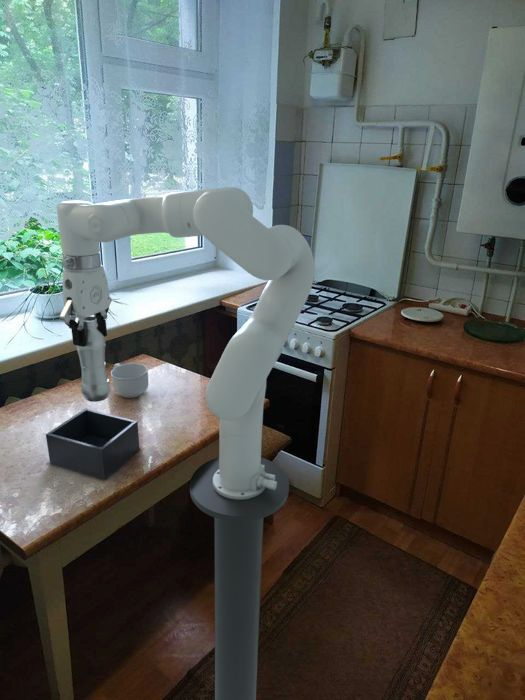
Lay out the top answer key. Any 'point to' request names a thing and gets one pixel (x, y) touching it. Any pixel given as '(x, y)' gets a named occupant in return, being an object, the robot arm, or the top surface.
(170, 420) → the top surface
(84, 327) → the plastic bottle
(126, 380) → the teacup
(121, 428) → the open box
